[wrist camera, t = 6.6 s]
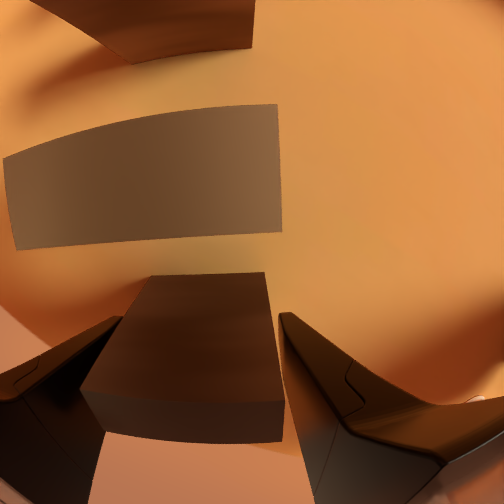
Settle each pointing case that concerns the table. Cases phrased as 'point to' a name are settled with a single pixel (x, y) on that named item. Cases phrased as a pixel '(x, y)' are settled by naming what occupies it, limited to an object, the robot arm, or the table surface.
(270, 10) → the table surface
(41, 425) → the robot arm
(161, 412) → the lead tile
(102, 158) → the tile
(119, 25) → the tile
